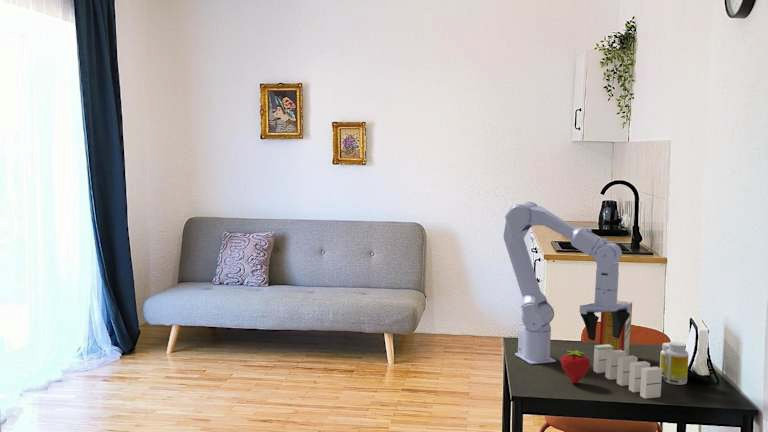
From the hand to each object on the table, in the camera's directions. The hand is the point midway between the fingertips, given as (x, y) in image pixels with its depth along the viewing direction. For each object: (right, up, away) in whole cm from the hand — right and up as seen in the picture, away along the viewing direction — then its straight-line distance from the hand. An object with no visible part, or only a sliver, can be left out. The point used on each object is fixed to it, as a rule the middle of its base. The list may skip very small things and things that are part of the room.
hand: (603, 338), depth 206 cm
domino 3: (+5, -11, -14) cm, 18 cm away
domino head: (0, -9, +1) cm, 9 cm away
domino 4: (+6, -11, -18) cm, 22 cm away
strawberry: (-10, -10, -9) cm, 17 cm away
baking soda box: (+7, -8, +13) cm, 16 cm away
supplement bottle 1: (+17, -10, -2) cm, 19 cm away
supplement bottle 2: (+16, -10, -7) cm, 21 cm away
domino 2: (+3, -10, -9) cm, 14 cm away
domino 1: (+2, -10, -4) cm, 11 cm away
